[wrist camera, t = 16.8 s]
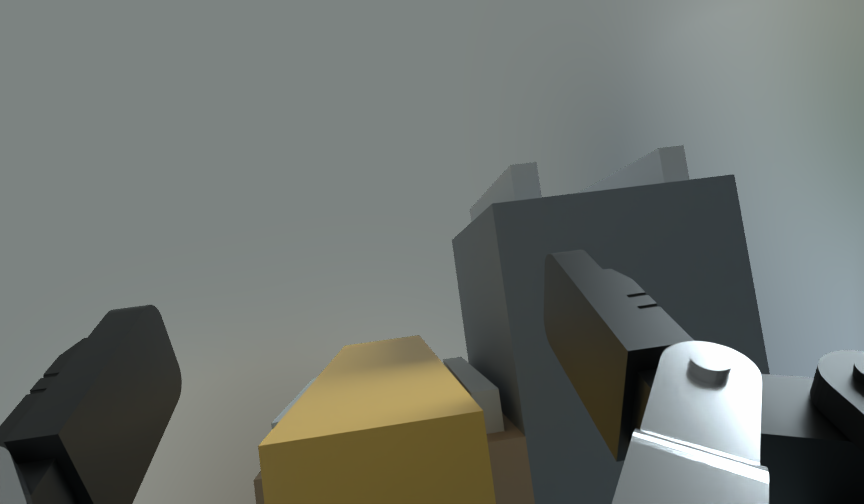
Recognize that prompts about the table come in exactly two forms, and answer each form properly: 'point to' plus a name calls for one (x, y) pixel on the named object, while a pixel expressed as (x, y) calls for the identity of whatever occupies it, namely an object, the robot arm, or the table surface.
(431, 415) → the tan rectangular bar
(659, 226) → the grey and brown cartons
